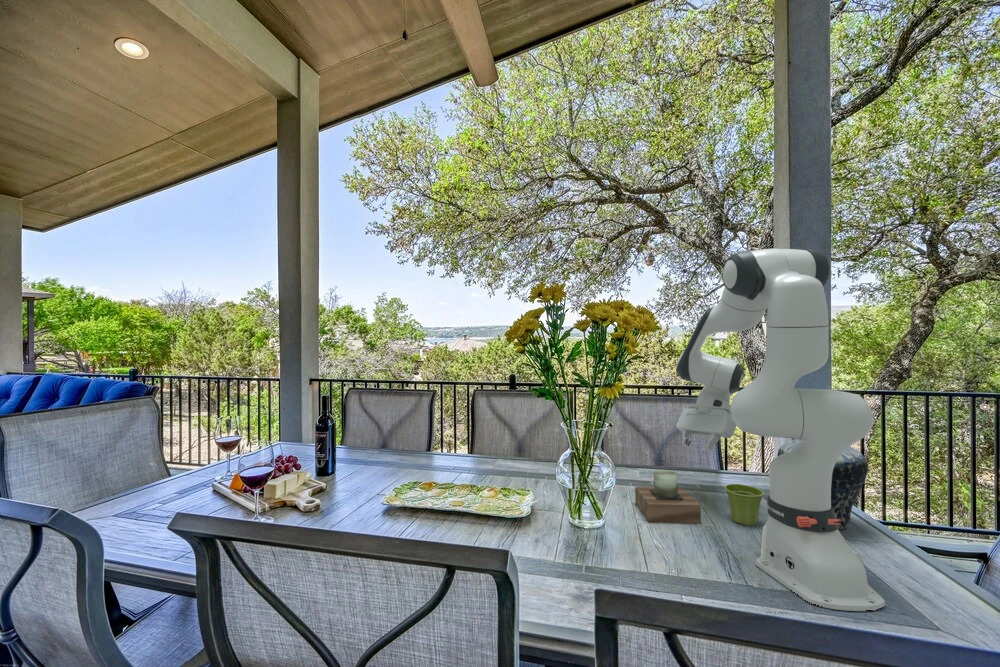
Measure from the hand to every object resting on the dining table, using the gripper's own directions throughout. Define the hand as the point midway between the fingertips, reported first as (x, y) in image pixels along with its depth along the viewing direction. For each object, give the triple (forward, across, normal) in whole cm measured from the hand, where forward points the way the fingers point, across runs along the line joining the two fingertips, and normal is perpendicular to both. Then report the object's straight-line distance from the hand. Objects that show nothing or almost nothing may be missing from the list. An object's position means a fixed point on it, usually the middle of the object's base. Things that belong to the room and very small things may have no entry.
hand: (696, 446), depth 129 cm
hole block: (+22, +1, -2) cm, 22 cm away
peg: (+21, +1, -3) cm, 21 cm away
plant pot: (+15, +12, +12) cm, 23 cm away
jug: (+6, +20, +29) cm, 35 cm away
